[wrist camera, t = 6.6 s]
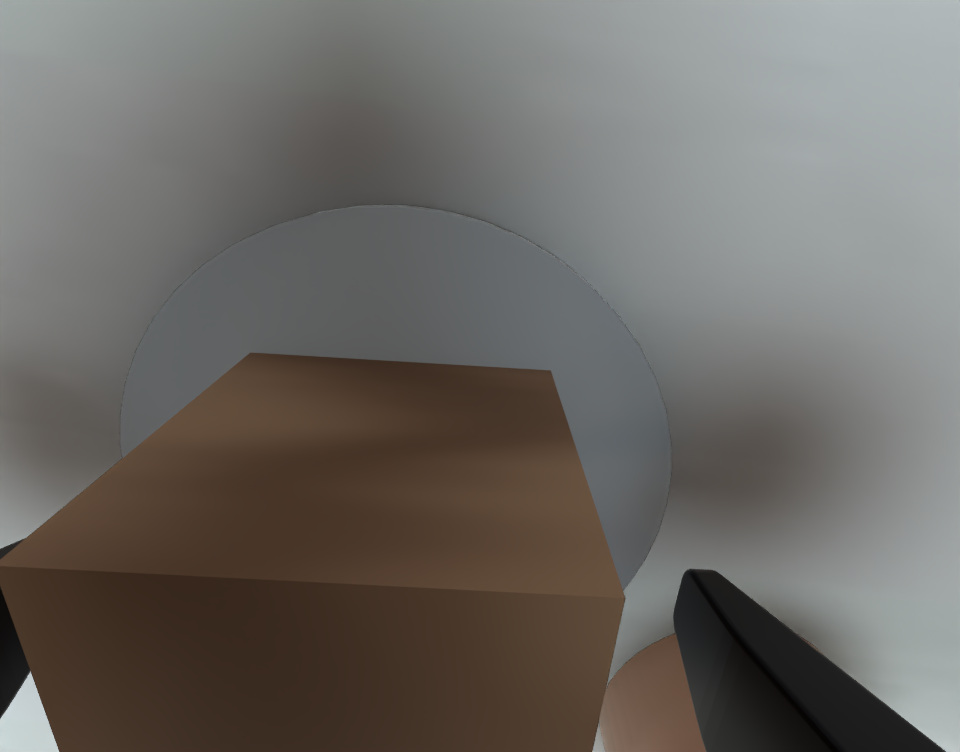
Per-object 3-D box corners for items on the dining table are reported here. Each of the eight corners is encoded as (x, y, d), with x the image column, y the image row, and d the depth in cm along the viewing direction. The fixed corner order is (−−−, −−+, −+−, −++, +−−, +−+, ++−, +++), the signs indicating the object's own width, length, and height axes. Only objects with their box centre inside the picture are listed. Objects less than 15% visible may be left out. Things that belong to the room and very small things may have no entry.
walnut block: (550, 370, 9) (625, 597, 4) (522, 598, 11) (554, 928, 6) (250, 351, 9) (-7, 565, 4) (275, 586, 11) (117, 912, 6)
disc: (701, 220, 9) (730, 227, 8) (612, 649, 13) (624, 691, 12) (108, 184, 9) (58, 186, 8) (194, 630, 13) (168, 671, 12)
